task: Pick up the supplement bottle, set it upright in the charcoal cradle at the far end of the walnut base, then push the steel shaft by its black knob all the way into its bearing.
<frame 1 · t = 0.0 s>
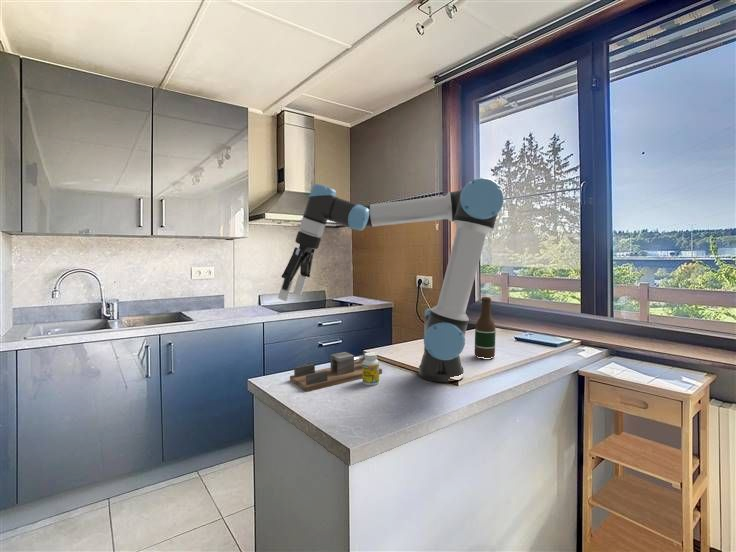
hand: (290, 296, 125), 28 cm above the countertop, tool tilted 20°, fingers open, 13 cm apart
shaft: (354, 360, 135), point 5 cm above the countertop, slide at 4.0 cm
supplement bottle: (370, 383, 126), on the countertop
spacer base: (337, 376, 131), on the countertop
beer bottle: (484, 357, 155), on the countertop
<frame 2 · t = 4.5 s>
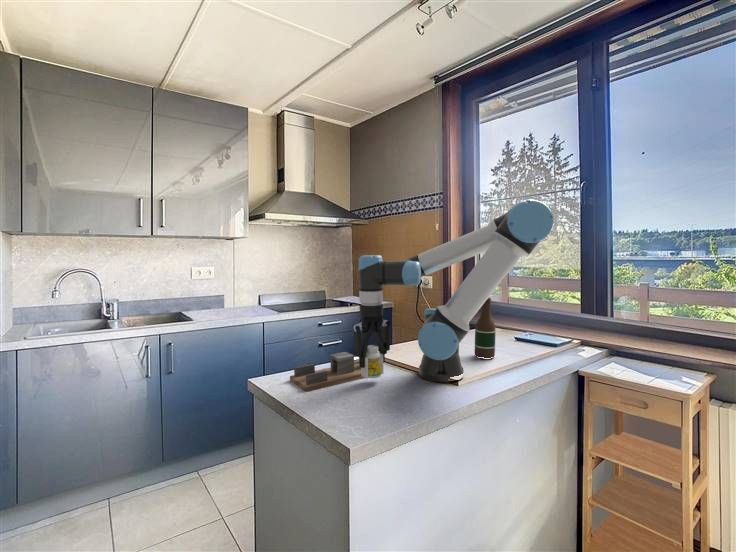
hand: (372, 374, 125), 3 cm above the countertop, tool pointing down, fingers closed on supplement bottle, 5 cm apart
supplement bottle: (372, 376, 125), point 2 cm above the countertop, touching gripper
everything else where it was.
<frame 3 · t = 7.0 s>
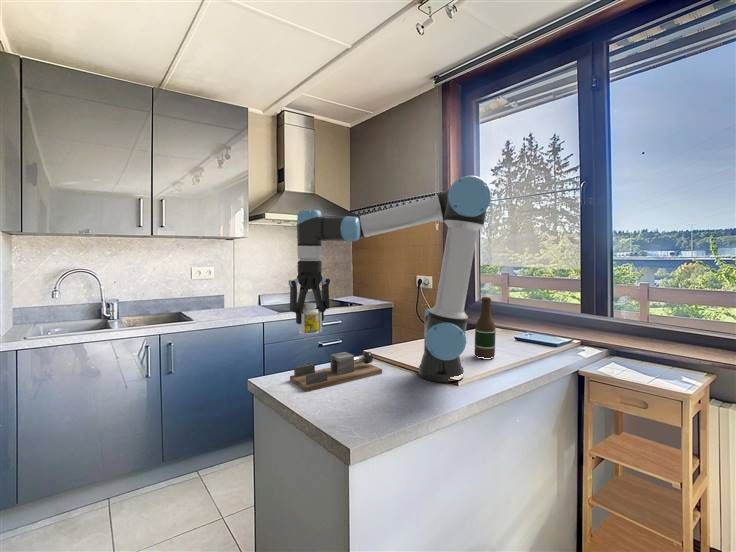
hand: (310, 332, 124), 17 cm above the countertop, tool pointing down, fingers closed on supplement bottle, 5 cm apart
supplement bottle: (310, 333, 124), point 16 cm above the countertop, touching gripper
everything else where it was.
when the fingers open (3 cm above the countertop, at t = 9.8 s): supplement bottle stays where it is, resting on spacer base.
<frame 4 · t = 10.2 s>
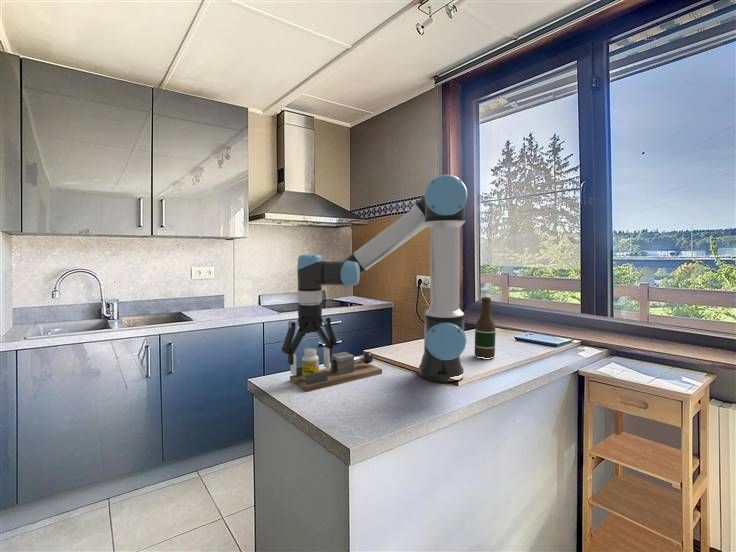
hand: (310, 370, 125), 4 cm above the countertop, tool pointing down, fingers open, 11 cm apart
supplement bottle: (310, 379, 125), point 1 cm above the countertop, touching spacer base
everything else where it was.
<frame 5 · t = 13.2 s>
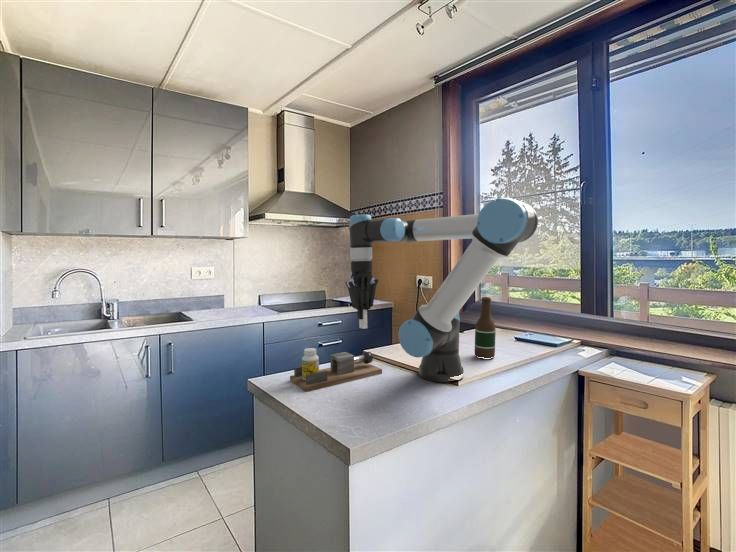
hand: (363, 328, 135), 16 cm above the countertop, tool pointing down, fingers closed
nothing on the countertop moved.
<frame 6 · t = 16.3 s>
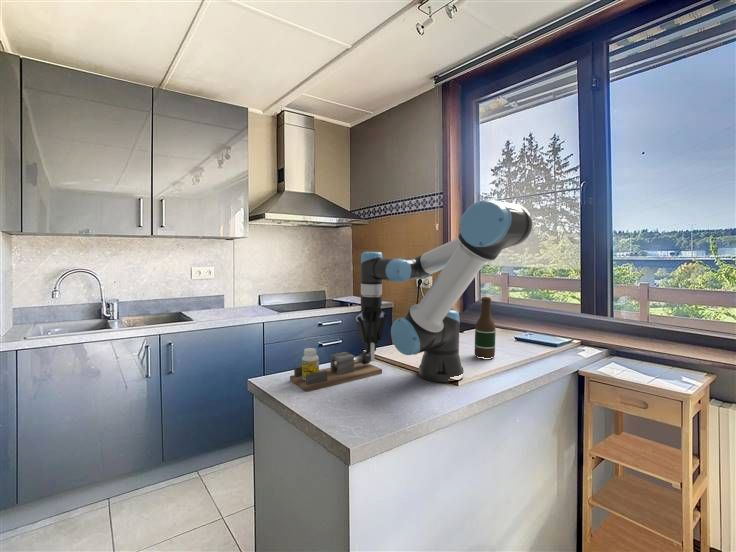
hand: (370, 360, 140), 3 cm above the countertop, tool pointing down, fingers closed
shaft: (351, 360, 134), point 5 cm above the countertop, slide at 3.0 cm, touching gripper
everything else where it was.
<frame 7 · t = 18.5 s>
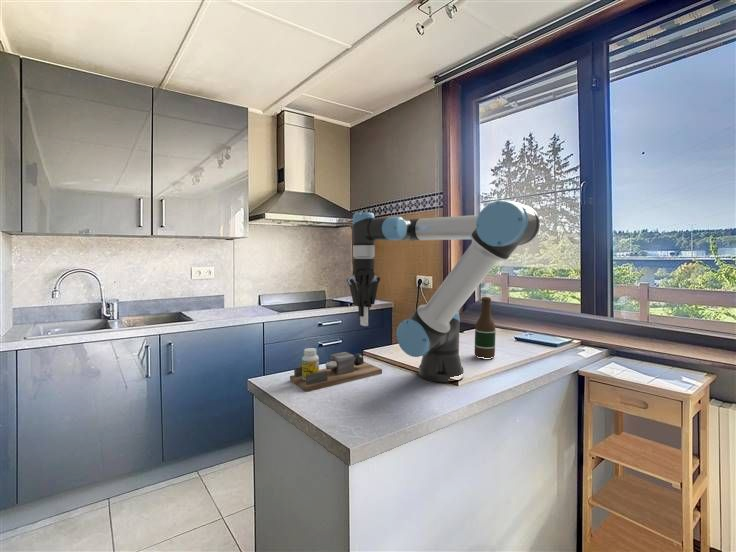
hand: (364, 325, 136), 16 cm above the countertop, tool pointing down, fingers closed
shaft: (344, 362, 133), point 5 cm above the countertop, slide at 0.0 cm
everything else where it was.
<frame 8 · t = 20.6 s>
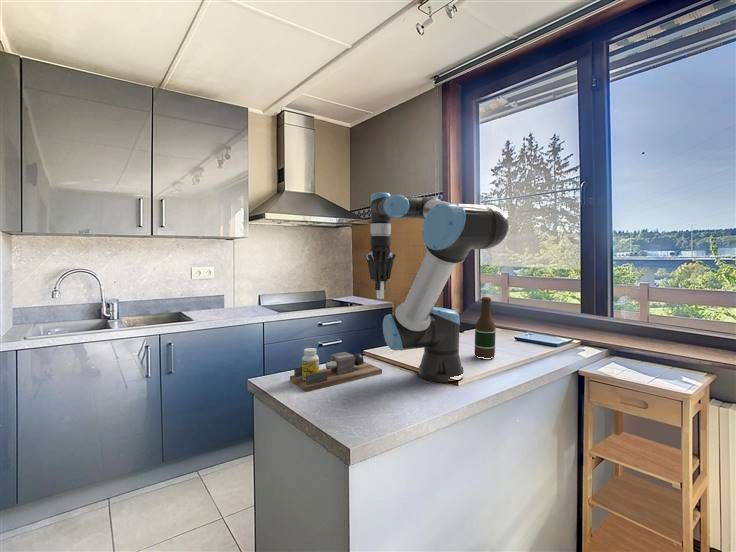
hand: (380, 298, 146), 24 cm above the countertop, tool pointing down, fingers closed
nothing on the countertop moved.
at the end: supplement bottle 0.1 cm from the target spot, point 1.3 cm above the countertop; supplement bottle tilted 0°; shaft slide at 0.0 cm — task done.
